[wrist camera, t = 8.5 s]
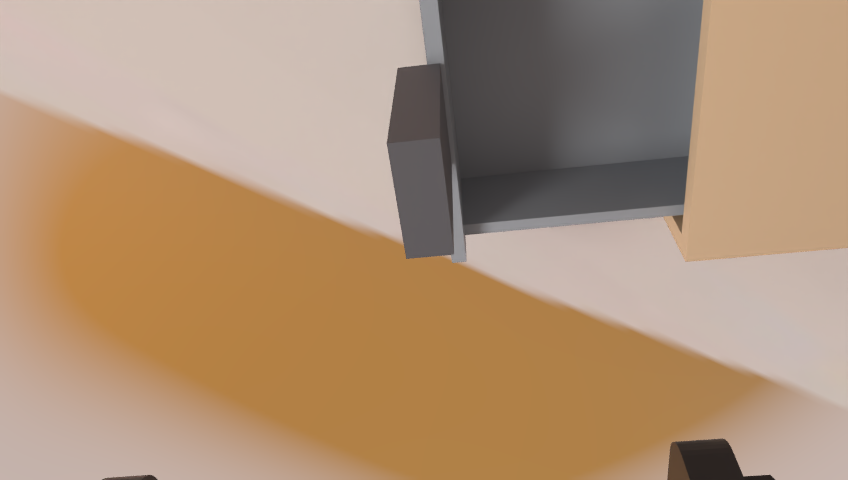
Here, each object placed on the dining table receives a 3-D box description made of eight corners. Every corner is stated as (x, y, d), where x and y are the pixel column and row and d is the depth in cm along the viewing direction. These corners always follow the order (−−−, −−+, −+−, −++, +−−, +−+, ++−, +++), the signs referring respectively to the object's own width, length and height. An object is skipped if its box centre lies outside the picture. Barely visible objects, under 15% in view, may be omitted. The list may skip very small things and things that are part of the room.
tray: (761, -149, 26) (949, -100, 16) (721, 170, 33) (835, 334, 23) (387, -99, 27) (358, -26, 17) (429, 199, 34) (424, 365, 25)
